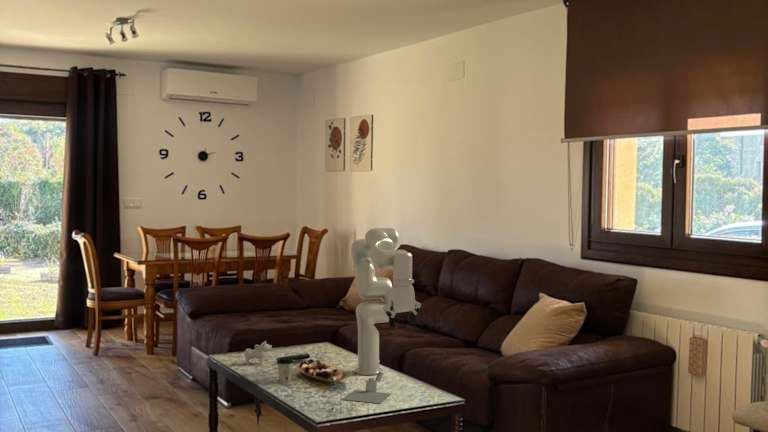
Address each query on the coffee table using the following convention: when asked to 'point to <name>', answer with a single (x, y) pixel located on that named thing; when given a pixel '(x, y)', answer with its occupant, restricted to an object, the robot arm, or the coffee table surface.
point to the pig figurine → (257, 352)
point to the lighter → (373, 382)
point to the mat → (367, 396)
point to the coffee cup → (285, 369)
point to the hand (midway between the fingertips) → (402, 325)
